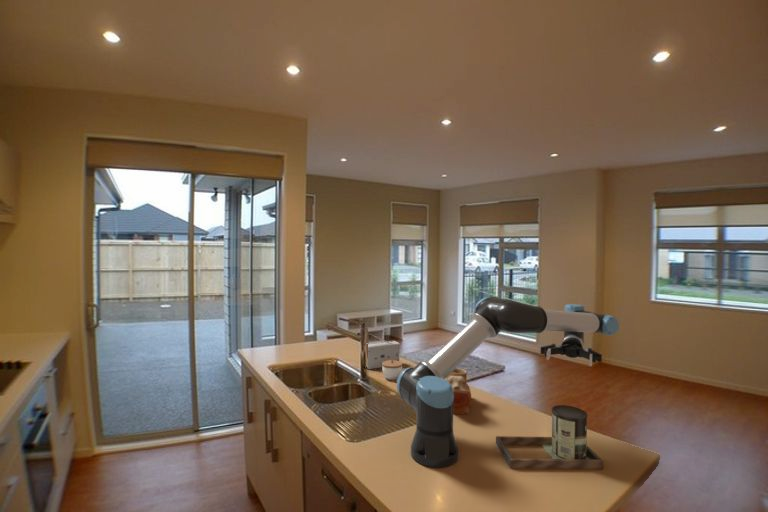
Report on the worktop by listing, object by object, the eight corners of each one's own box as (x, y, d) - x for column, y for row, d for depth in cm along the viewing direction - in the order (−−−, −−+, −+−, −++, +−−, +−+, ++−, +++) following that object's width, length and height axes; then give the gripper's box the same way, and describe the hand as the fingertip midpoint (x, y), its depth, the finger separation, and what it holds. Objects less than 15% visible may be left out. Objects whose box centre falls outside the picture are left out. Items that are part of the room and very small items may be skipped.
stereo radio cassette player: (394, 362, 221) (394, 328, 220) (400, 366, 213) (401, 331, 213) (361, 366, 212) (362, 331, 211) (367, 370, 204) (367, 334, 204)
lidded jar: (383, 374, 198) (383, 356, 198) (403, 375, 197) (403, 357, 197) (380, 380, 188) (380, 362, 188) (401, 382, 186) (401, 363, 186)
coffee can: (580, 448, 123) (581, 406, 123) (591, 465, 113) (592, 419, 113) (547, 445, 125) (548, 403, 125) (555, 461, 115) (556, 416, 115)
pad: (559, 466, 113) (559, 465, 113) (541, 445, 126) (541, 444, 126) (597, 467, 113) (597, 466, 113) (576, 446, 126) (576, 445, 126)
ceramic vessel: (437, 417, 147) (438, 379, 146) (439, 393, 172) (439, 360, 172) (473, 420, 144) (474, 382, 144) (469, 395, 170) (469, 362, 170)
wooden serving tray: (510, 468, 112) (510, 460, 112) (495, 443, 127) (495, 436, 127) (603, 469, 112) (603, 461, 112) (577, 444, 127) (577, 437, 127)
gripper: (608, 360, 143) (609, 376, 124) (538, 351, 155) (530, 364, 137) (608, 341, 142) (610, 353, 124) (538, 333, 155) (530, 343, 137)
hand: (568, 359), depth 130 cm, fingers open, 13 cm apart
